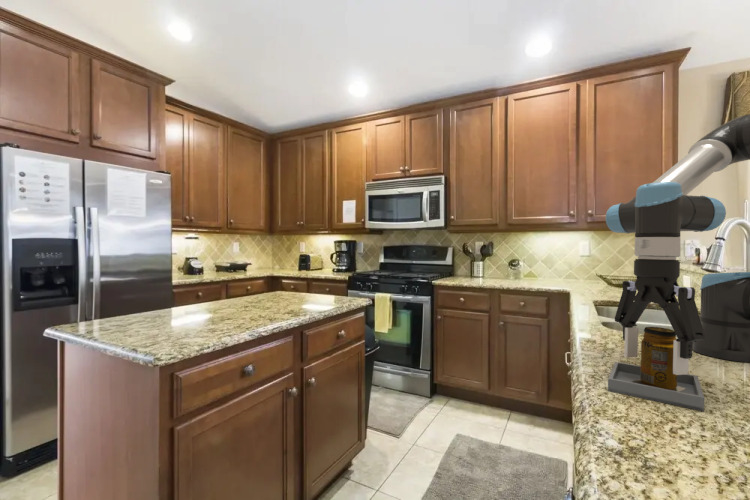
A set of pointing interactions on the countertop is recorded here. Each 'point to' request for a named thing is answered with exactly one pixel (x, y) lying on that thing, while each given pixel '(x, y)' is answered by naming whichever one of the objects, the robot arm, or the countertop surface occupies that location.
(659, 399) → the tray
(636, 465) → the countertop surface
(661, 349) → the condiment
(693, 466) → the countertop surface
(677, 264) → the robot arm
